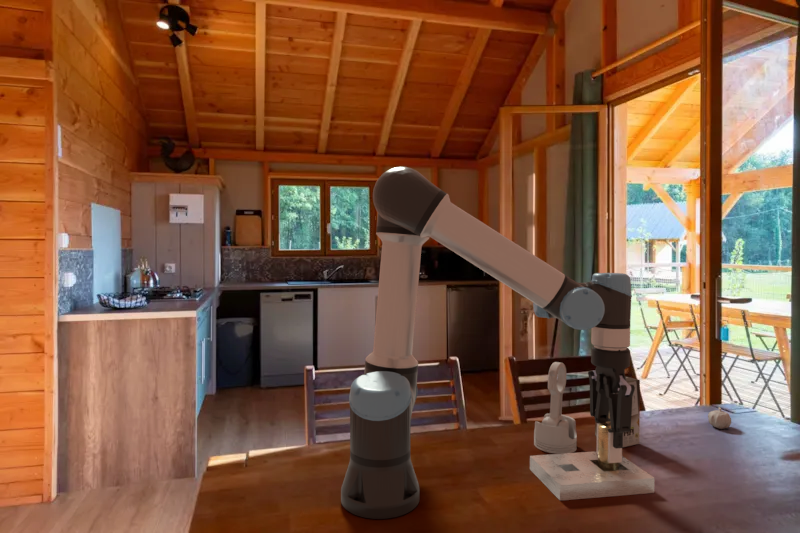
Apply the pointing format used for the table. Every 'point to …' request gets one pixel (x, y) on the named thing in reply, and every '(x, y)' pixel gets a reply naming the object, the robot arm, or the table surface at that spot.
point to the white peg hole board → (589, 476)
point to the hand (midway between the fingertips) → (608, 457)
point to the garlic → (719, 419)
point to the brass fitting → (604, 448)
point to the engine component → (556, 418)
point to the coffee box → (633, 435)
